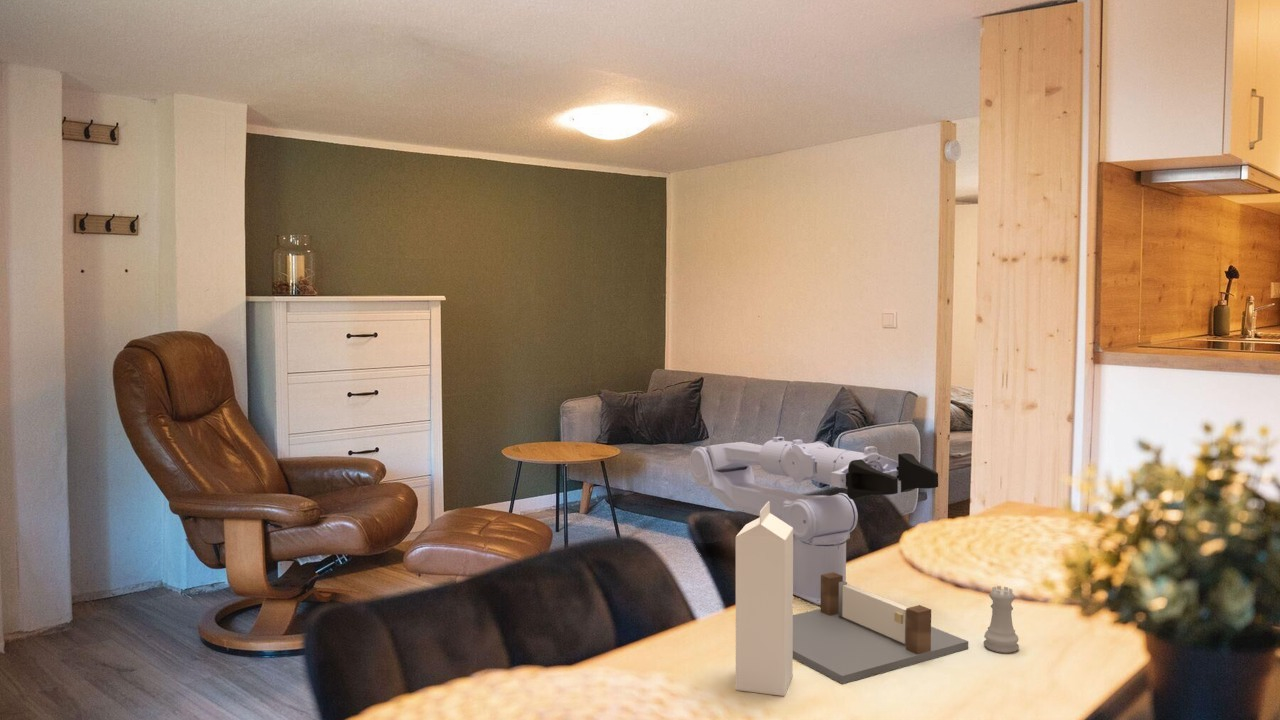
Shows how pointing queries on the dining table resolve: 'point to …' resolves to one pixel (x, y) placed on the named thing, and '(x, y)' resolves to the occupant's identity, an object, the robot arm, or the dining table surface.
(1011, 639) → the rook chess piece
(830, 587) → the gate posts
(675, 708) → the dining table surface
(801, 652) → the base
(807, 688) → the dining table surface
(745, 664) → the milk
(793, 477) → the robot arm
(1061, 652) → the dining table surface
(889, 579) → the dining table surface
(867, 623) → the gate leaf
